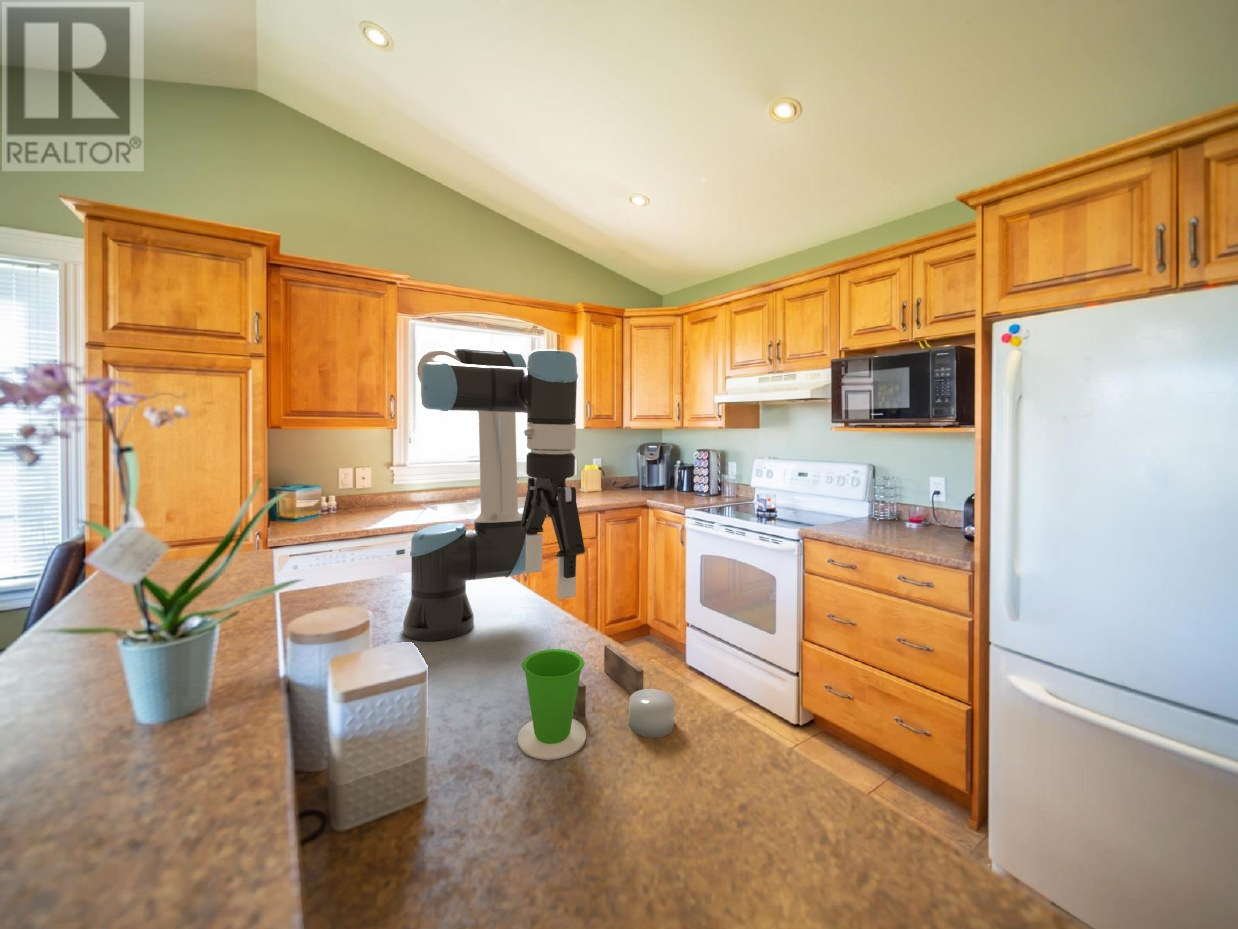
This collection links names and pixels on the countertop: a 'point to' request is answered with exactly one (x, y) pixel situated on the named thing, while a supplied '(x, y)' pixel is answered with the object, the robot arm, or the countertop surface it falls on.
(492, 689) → the countertop surface
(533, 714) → the cup
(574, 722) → the white oval pebble
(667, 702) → the grey rounded puck
